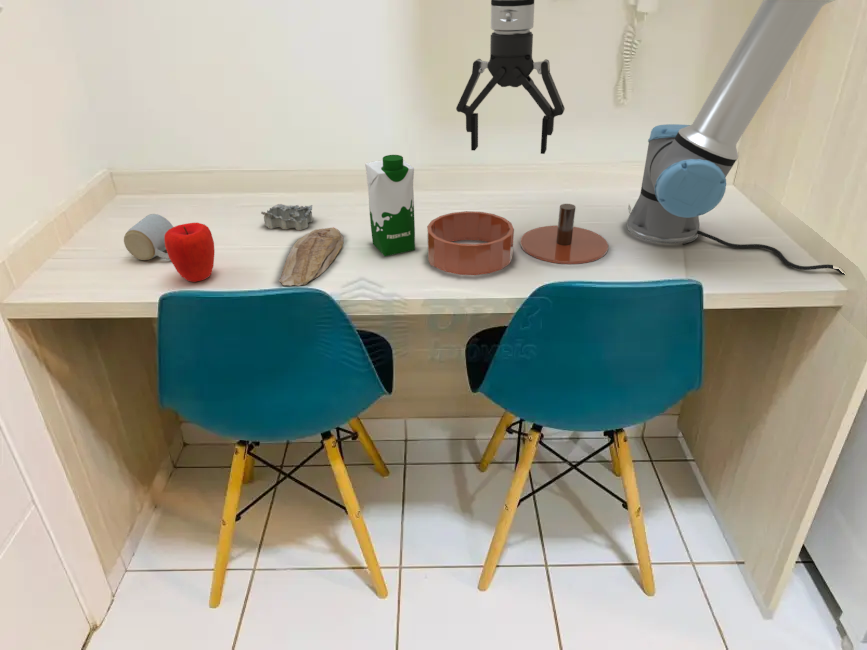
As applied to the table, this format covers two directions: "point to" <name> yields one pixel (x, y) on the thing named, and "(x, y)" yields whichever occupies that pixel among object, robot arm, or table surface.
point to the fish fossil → (311, 256)
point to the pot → (470, 255)
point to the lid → (564, 241)
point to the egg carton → (288, 217)
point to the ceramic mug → (148, 237)
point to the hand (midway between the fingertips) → (508, 150)
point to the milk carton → (391, 204)
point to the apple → (191, 250)
